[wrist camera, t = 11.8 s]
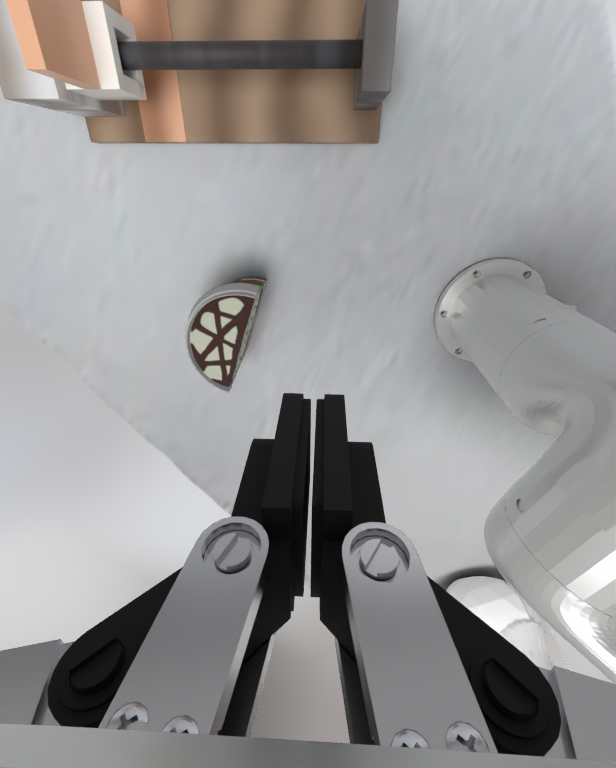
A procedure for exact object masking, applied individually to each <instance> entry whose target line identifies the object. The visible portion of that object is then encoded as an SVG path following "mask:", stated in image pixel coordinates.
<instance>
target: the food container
mask: <svg viewBox="0 0 616 768" xmlns="http://www.w3.org/2000/svg"><path fill="white" fill-rule="evenodd" d="M266 282H267V280H265V279H262V278H258V277H255V278H243V279H240V280H237V281H234V282H232V283H230V284H225V285H221V286H219V287H216V288H214V289H212V290H210V291H208V292H207V293H205V294H204V295H203V296H202V297H201V298H200V299H199V300H198V301H197V302H196V304H195V305H194V306H193V308H192V311H191V313H190V315H189V319H188V322H187V326H186V333H185V340H186V347H187V351H188V355H189V357H190V360H191V362H192V364H193V365H194V367H195V369H196V370H197V371H198V373H199V374H200V375H201V376H202V377H203V378H204V379H205V380H206V381H207V382H209V383H210V384H212V385H213V386H214V387H216V388H218V389H220V390H222V391H225V392H227V393H229V391H230V389H231V387H232V383H233V381H234V379H235V376H236V374H237V371H238V369H239V367H240V364H241V362H242V360H243V357H244V355H245V352H246V350H247V348H248V345H249V341H250V338H251V334H252V331H253V327H254V324H255V320H256V317H257V313H258V310H259V306H260V303H261V299H262V296H263V293H264V289H265V286H266Z"/></svg>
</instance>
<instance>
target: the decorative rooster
mask: <svg viewBox="0 0 616 768" xmlns="http://www.w3.org/2000/svg"><path fill="white" fill-rule="evenodd" d="M446 591H447V592H448V593H449V594H450V595H452V596H453V597H454V598H455V599H456V600H458V601H459V602H460V603H461V604H463V605H464V606H465V607H466V608H468V609H469V610H470V611H471V612H473V613H474V614H475V615H476V616H478V617H479V618H480V619H481V620H483V621H484V622H485V623H486V624H488V625H489V626H490V627H491V628H492V629H494V630H495V631H496V632H497V633H499V634H500V635H501V636H502V637H504V638H505V639H506V640H507V641H509V642H510V643H511V644H512V645H514V646H515V647H516V648H517V649H519V650H520V651H521V652H522V653H524V654H525V655H526V656H527V657H528V658H529V659H530V660H531V661H532V662H533V663H534V664H535V665H536V666H538V667H541V668H544V669H548V670H551V669H552V668H553V666H554V664H553V663H552V662H551V661H550V656H549V649H548V642H547V637H546V631H545V630H544V629H543V627H542V624H541V621H540V618H539V615H538V614H537V613H536V612H535V611H534V610H533V609H532V608H530V607H529V606H528V605H527V604H526V603H525V602H524V601H523V600H522V598H521V597H520V596H519V595H518V594H517V593H516V592H515V591H514V590H513V589H512V587H511V586H510V585H509V584H508V583H507V582H505V581H503V580H501V579H497V578H492V577H485V576H474V577H467V578H461V579H458V580H456V581H454V582H453V583H452V584H451V585H450V586H449V587H448V588H447V590H446Z"/></svg>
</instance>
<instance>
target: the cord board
mask: <svg viewBox="0 0 616 768" xmlns="http://www.w3.org/2000/svg"><path fill="white" fill-rule="evenodd" d="M80 1H103V2H104V3H105V4H107V5H108V6H109V7H111V8H112V9H113V10H115V11H116V12H117V13H119V14H120V15H121V16H123V17H124V18H125V19H127V20H128V21H129V22H131V23H132V24H133V25H134V29H135V35H136V40H137V41H121V42H117V46H118V51H119V56H120V61H121V66H122V70H142V75H143V80H144V86H145V92H146V97H147V100H98V99H95V98H92V97H89V96H86V95H83V94H79V93H76V92H73V91H70V90H67V89H66V86H65V82H62V81H59V80H56V79H53V78H50V77H47V76H44V75H42V74H39V73H36V72H33V71H30V70H27V69H26V66H25V63H24V59H23V56H22V53H21V49H20V46H19V43H18V39H17V36H16V33H15V29H14V26H13V23H12V19H11V16H10V13H9V9H8V6H7V2H6V0H0V86H1V89H2V92H3V95H4V98H5V99H8V100H12V101H17V102H21V103H26V104H30V105H35V106H39V107H43V108H48V109H52V110H57V111H61V112H66V113H70V114H74V115H79V116H83V117H85V119H86V123H87V127H88V131H89V135H90V139H91V142H95V143H378V137H379V125H380V114H381V102H382V101H383V99H384V98H385V97H386V96H387V94H388V93H389V92H390V86H391V76H392V65H393V54H394V43H395V32H396V22H397V11H398V0H80Z"/></svg>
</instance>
